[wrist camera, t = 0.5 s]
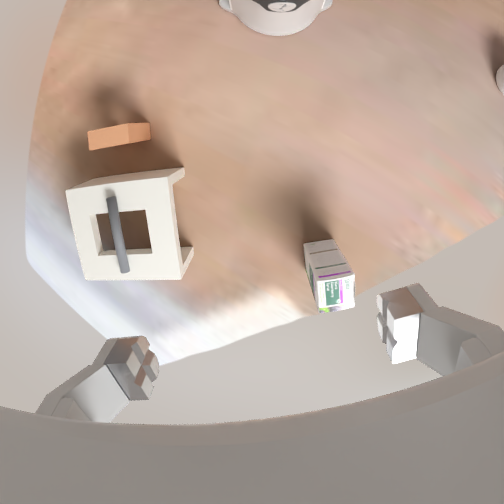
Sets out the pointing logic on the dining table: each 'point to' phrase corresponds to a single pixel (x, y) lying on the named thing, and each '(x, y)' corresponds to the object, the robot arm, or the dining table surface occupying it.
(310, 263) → the syrup box
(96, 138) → the notched wooden block
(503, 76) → the mug
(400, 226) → the dining table surface
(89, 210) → the shelf
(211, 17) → the dining table surface
